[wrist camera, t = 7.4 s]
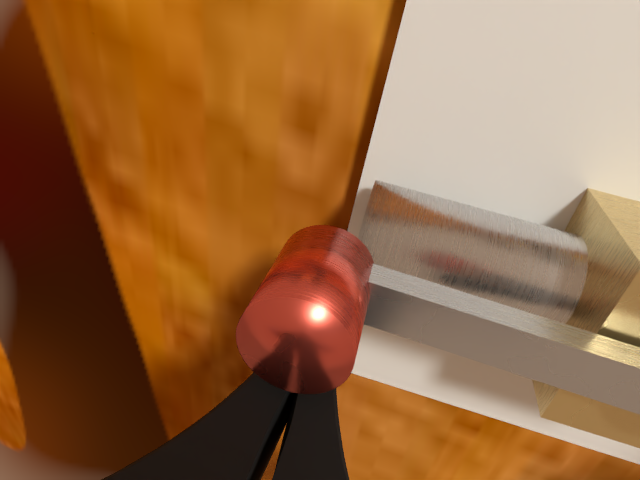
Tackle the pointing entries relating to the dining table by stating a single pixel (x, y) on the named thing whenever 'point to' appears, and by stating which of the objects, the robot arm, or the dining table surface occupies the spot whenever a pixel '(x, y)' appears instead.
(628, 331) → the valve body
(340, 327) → the valve lever
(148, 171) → the dining table surface
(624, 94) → the valve board
